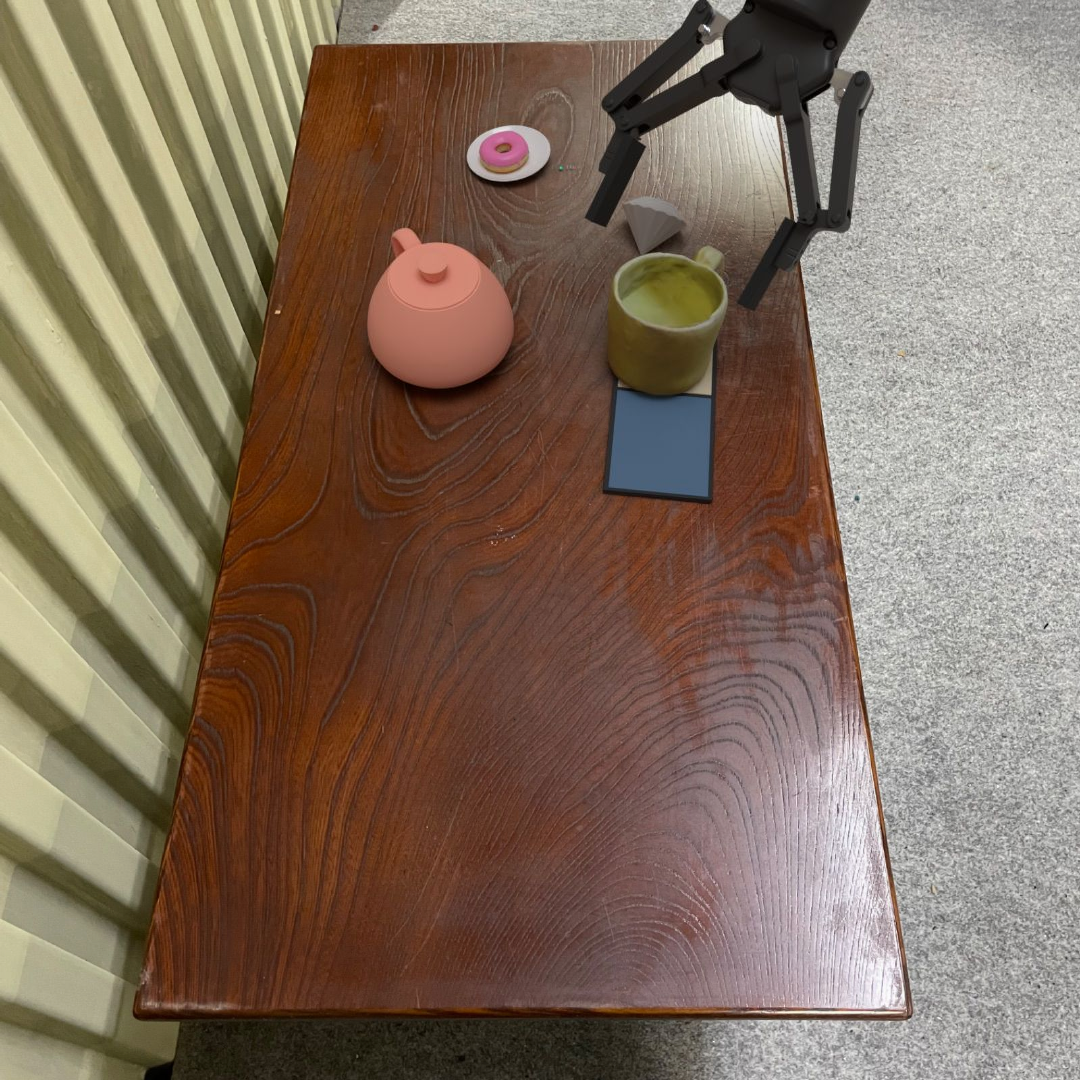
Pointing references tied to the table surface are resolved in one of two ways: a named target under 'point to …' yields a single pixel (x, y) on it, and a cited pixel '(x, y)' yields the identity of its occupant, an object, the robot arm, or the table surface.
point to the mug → (665, 319)
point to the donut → (509, 153)
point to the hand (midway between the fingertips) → (667, 264)
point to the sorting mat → (661, 444)
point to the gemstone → (652, 221)
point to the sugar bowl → (438, 315)
